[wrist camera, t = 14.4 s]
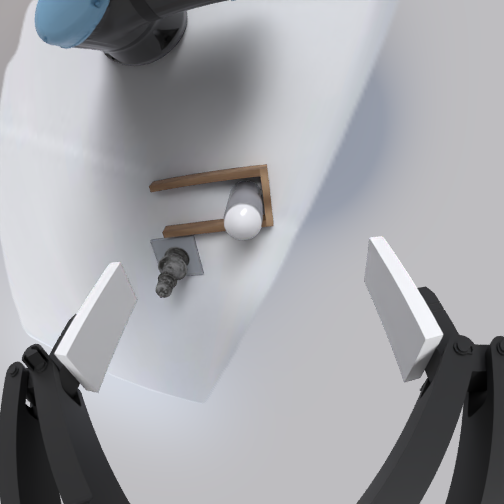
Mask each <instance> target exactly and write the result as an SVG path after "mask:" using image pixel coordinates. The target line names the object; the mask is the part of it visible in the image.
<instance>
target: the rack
mask: <svg viewBox="0 0 504 504" xmlns="http://www.w3.org/2000/svg"><path fill="white" fill-rule="evenodd" d="M257 176H261V184H262V192H263V200H264V208H265V214H264V215H263V222H262V225H261V227H268V226H274V225H273V216H272V206H271V197H270V188H269V179H268V171H267V164H266V165H257V166H248V167H240V168H232V169H225V170H218V171H211V172H204V173H198V174H192V175H186V176H180V177H174V178H169V179H163V180H158V181H154V182H153V183H152V184H151V185H150V186H149V188H150V192H155V191H161V190H167V189H172V188H178V187H184V186H190V185H197V184H203V183H210V182H217V181H225V180H232V179H240V178H249V177H257ZM220 231H226V229H225V226H224V219H219V220H210V221H202V222H194V223H187V224H179V225H171V226H166V227H165V229H164V231H163V232H162V233H163V236H164V238H169V237H177V236H186V235H194V234H203V233H211V232H220Z"/></svg>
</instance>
